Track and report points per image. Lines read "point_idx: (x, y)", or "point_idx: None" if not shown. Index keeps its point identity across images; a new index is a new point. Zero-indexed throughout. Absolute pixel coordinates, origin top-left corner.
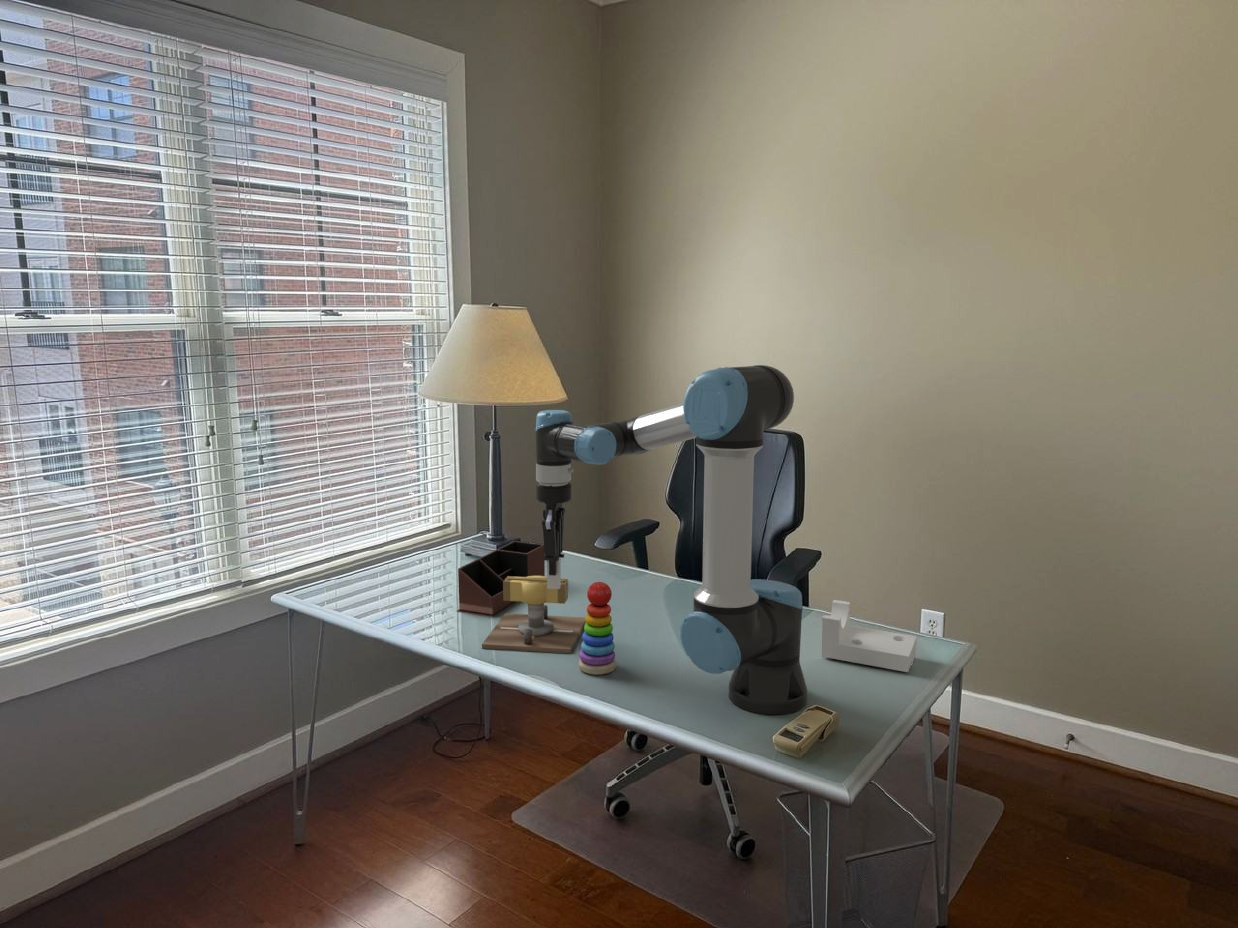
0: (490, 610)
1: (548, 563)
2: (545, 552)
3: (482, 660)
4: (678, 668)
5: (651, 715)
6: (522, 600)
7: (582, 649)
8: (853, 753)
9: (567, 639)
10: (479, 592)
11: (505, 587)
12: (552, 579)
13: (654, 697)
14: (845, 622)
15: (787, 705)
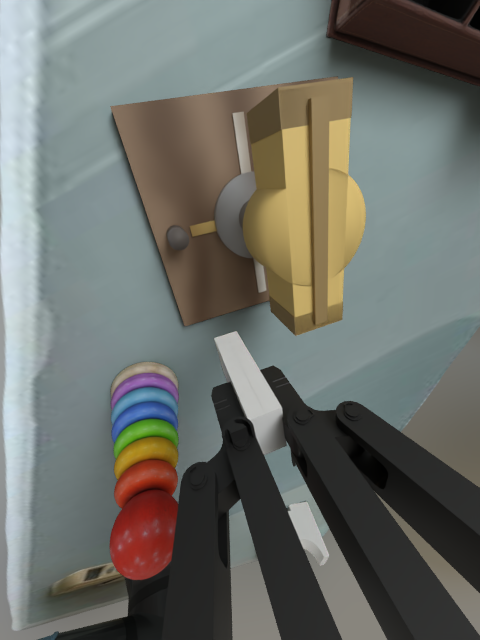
0: (343, 12)
1: (244, 409)
2: (176, 540)
3: (38, 154)
4: (198, 452)
5: (39, 500)
6: (254, 194)
7: (117, 401)
8: (91, 602)
9: (226, 299)
10: None
11: (267, 110)
12: (226, 373)
13: (95, 477)
14: (303, 547)
15: None
